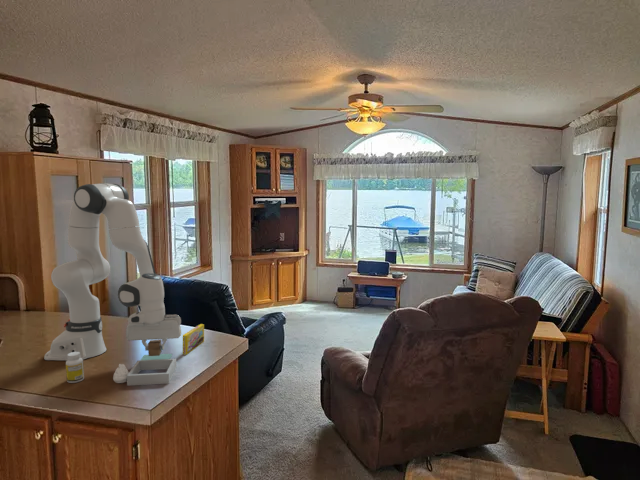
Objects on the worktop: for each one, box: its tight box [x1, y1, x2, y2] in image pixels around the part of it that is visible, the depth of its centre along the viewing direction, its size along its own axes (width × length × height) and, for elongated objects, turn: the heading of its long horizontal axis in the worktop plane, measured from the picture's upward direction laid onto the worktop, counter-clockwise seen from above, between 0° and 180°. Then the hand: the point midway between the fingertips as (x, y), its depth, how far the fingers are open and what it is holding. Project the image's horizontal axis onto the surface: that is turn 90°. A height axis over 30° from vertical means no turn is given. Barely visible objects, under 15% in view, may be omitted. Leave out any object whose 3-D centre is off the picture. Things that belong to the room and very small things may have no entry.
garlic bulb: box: [112, 363, 130, 384], centre depth 162 cm, size 6×6×5 cm
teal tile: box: [140, 353, 173, 360], centre depth 179 cm, size 11×11×1 cm
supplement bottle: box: [65, 352, 85, 384], centre depth 161 cm, size 5×5×10 cm
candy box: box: [182, 323, 205, 356], centre depth 194 cm, size 16×2×8 cm, turn 168°
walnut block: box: [147, 339, 163, 356], centre depth 179 cm, size 4×4×5 cm
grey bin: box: [126, 358, 177, 387], centre depth 165 cm, size 14×14×4 cm
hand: (154, 349), depth 179 cm, fingers closed on walnut block, 4 cm apart
